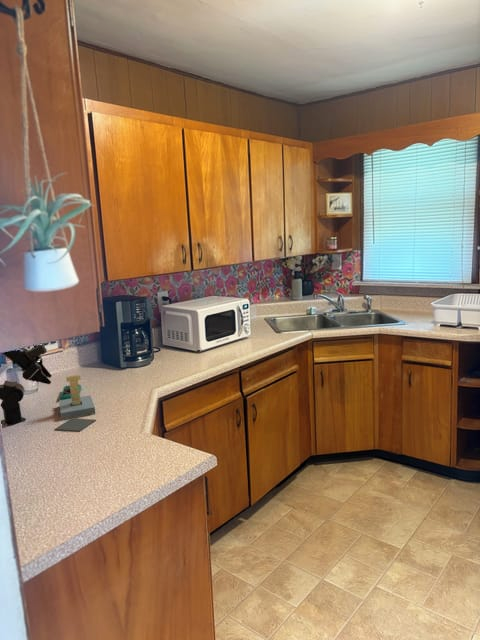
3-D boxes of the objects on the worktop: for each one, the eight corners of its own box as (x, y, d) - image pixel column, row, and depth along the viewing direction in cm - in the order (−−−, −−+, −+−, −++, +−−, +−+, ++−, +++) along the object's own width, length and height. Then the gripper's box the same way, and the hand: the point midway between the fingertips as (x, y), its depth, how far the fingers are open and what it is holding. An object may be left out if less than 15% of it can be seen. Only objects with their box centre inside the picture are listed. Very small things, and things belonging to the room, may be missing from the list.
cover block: (61, 419, 176) (60, 413, 175) (59, 406, 190) (58, 400, 190) (95, 413, 180) (94, 407, 180) (90, 401, 195) (90, 395, 194)
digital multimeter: (60, 402, 196) (59, 396, 195) (64, 391, 210) (63, 385, 210) (78, 400, 198) (78, 393, 197) (81, 389, 212) (81, 383, 211)
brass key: (70, 412, 183) (66, 378, 180) (69, 410, 185) (65, 376, 183) (84, 409, 185) (80, 376, 182) (83, 407, 187) (79, 374, 185)
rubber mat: (54, 430, 166) (54, 429, 166) (71, 419, 175) (71, 418, 175) (79, 431, 163) (79, 430, 163) (95, 420, 173) (95, 419, 173)
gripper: (30, 341, 166) (66, 369, 171) (33, 332, 183) (65, 358, 189) (6, 366, 164) (44, 393, 170) (12, 354, 182) (45, 379, 187)
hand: (50, 380), depth 179 cm, fingers open, 9 cm apart
